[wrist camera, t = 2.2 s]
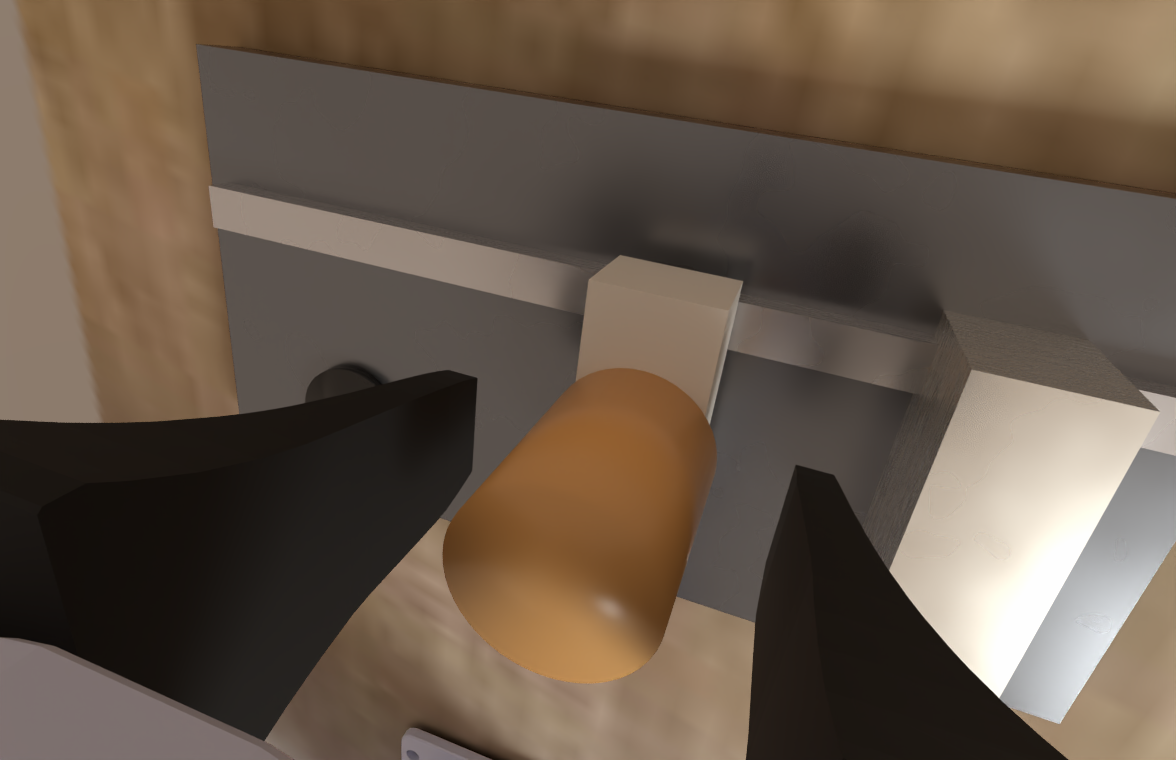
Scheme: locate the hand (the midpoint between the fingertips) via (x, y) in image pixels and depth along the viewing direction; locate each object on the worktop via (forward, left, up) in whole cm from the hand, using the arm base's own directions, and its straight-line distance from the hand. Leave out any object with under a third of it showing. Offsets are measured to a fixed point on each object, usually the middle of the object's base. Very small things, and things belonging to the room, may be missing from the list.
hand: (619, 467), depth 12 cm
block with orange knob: (0, 0, -3) cm, 3 cm away
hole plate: (0, +1, -5) cm, 5 cm away
